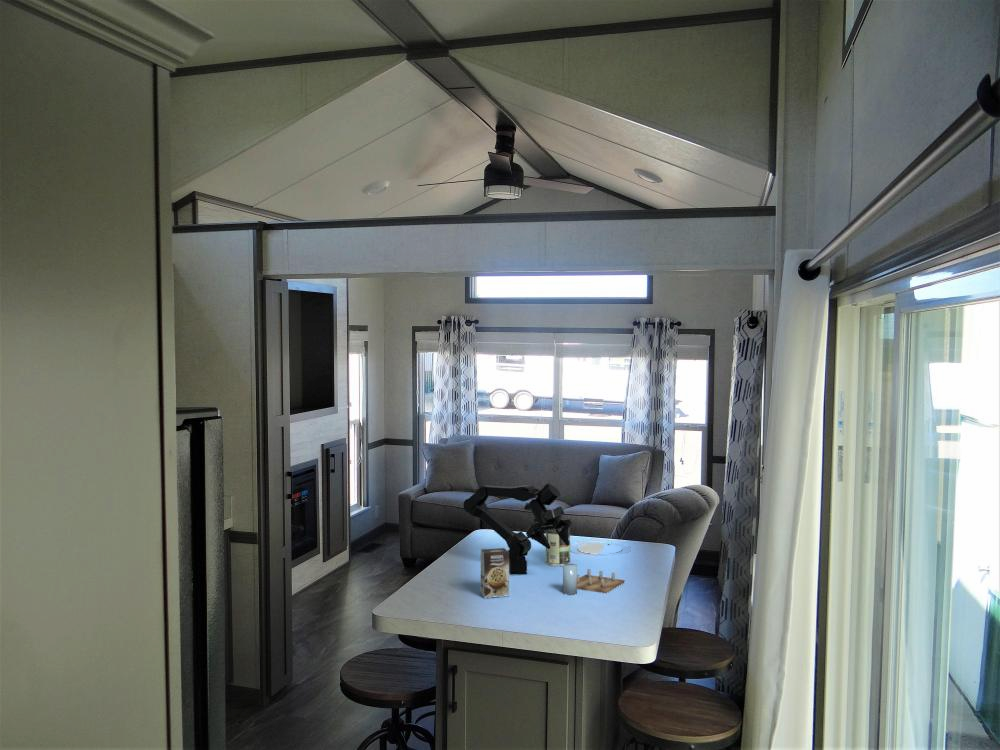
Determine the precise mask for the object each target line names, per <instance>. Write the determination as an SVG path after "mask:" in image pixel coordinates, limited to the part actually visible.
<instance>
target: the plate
mask: <svg viewBox="0 0 1000 750" xmlns="http://www.w3.org/2000/svg"><path fill="white" fill-rule="evenodd" d="M601 542H607V541H606V540H605V541H603V540H602V541H601V540H599V541H598V540H597V541H596V540H593V541H591V540H590V541H582V542H576V543H572V544H570V547H572V546H575V545H579V546H577V548H576V550H578V552H575V551H572V550H570V553H573V554H575V555H578V556H584V555H585V556H586V557H593V556H595V555H598V553H599V552H600V551H601V549H602V550H603V549H604V547H603V546H604V544H605V543H601ZM612 542H613V541H612ZM614 543H617V542H615V541H614V542H613V543H612V544H614ZM580 544H582V545H580ZM601 544H603V545H601ZM579 552H581V553H579ZM582 553H583V554H582ZM588 553H590V554H588ZM585 556H584V557H585Z"/></svg>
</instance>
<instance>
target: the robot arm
mask: <svg viewBox="0 0 1000 750" xmlns="http://www.w3.org/2000/svg"><path fill="white" fill-rule="evenodd" d="M489 497H499V498H500V497H501V498H512V499H514V500H516V501H520V502H525V505H524V507H523V509H524V511H530V512H531V514H532V515H533V518H534V519H533V521H534V523H531V524H530V526H528V528H527V529H526V531H525V534H526V535H525V534H524V533H523V532H522V531H519V532H515V531H513V530H512V528H510V527H509V526H507V524H505V523H504V522H503V521H502V520H501V519H500V518H498V517H497V516H496V515H495V514H493V512H491V510H489V508H488V506H487V503H486V501H487V500H488V498H489ZM560 497H561V492H560V491H559V489H558V488H557V487H555V486H554V485H552V484H551V483H550V482H548V483H546V484H545V485H544V487H542V488H541V489H539V488H535V486H534V484H533V485H532V484H525V485H519V486H503V485H502V486H501V485H489V484H486V485H481V486H480V487H479V489H478V490H477V491H475V492H474V493H472V495H471V496H469V497H468V498H466V499H465V500H464V501H463V510H464V511H465V512H466V513H468V514H469V515H471V516H473V517H475V518H479V519H480V520H481V521H482V522H484V523H485V524H486V525H487V527H489V528H491V529H492V530H493V531H494V532H495V533H496V534H497V535H499V536H500V538H502V539H503V540H504V542H506V544H507V548H508V549H507V550H508V551H509V575H511V574H518V575H527V574H528V561H527V560H526V557H527V556H528V554H529V552H530V551H531V549H532V542H531V540H534V541H536V542H537V543H539V544H540V545H542V546H543V547H545V549H546V548H548V549H550V548H551V547H550V545H549V543H548V541H547V539H546V534H545V531H549V530H556V532H558V536H559V537H560V538H561V539H562V540H563V542H564V543H565V544H566V545H567V546H568V545H569V538H568V529H569V528H571V526H572V525H573V523H572V521H571V519H570V518H563V519H559V518H562V517H563V515H565V512H564V511H565V510H564V509H563V507H562V506H557V507H556V508H552V509H547V507H546V506H551V505H552V504H553V503H554V502H555V501H556V500H558V499H559V498H560ZM530 500H531V501H530ZM527 501H529V502H527ZM558 519H559V521H558ZM557 521H558V522H557ZM556 522H557V523H556ZM530 539H531V540H530Z"/></svg>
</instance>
